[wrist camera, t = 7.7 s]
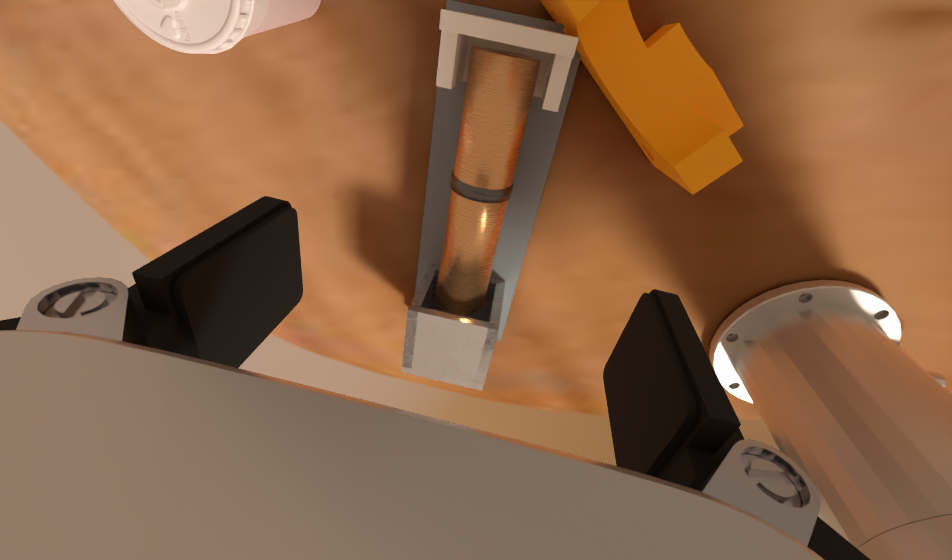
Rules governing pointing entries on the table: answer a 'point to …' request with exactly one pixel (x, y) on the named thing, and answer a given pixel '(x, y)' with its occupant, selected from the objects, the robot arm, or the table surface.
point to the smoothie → (212, 20)
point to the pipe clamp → (656, 89)
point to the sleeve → (451, 336)
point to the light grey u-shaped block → (506, 36)
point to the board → (526, 178)
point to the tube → (483, 173)
